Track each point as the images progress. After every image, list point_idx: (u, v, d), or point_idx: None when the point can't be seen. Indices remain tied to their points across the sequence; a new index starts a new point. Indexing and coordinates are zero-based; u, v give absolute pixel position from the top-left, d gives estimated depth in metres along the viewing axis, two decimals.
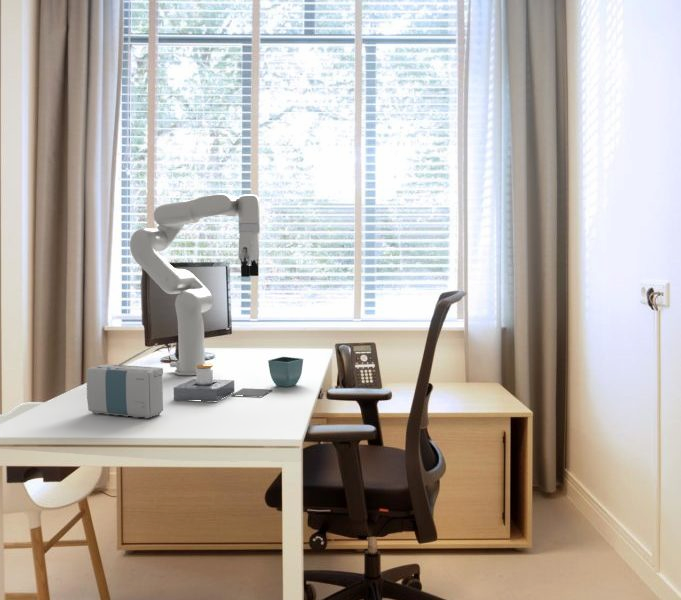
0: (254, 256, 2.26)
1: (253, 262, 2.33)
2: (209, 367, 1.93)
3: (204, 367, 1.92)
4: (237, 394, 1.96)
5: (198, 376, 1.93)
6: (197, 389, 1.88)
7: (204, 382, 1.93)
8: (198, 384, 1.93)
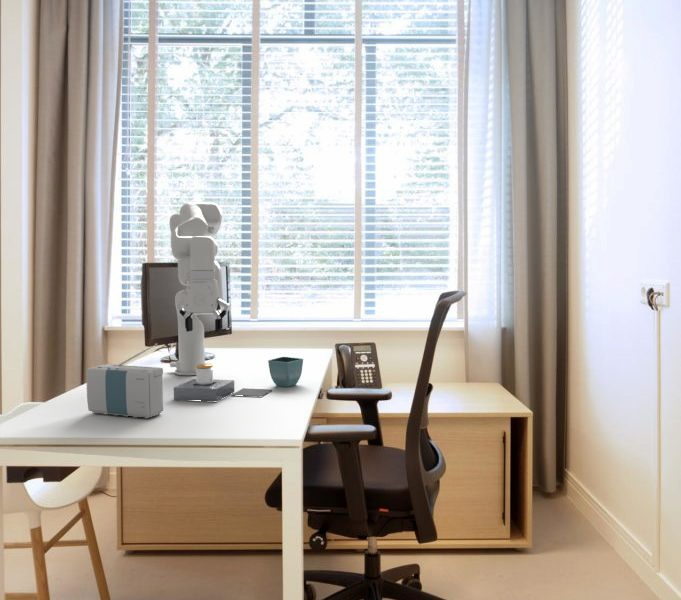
0: None
1: None
2: (209, 367, 1.93)
3: (204, 367, 1.92)
4: (237, 394, 1.96)
5: (198, 376, 1.93)
6: (197, 389, 1.88)
7: (204, 382, 1.93)
8: (198, 384, 1.93)
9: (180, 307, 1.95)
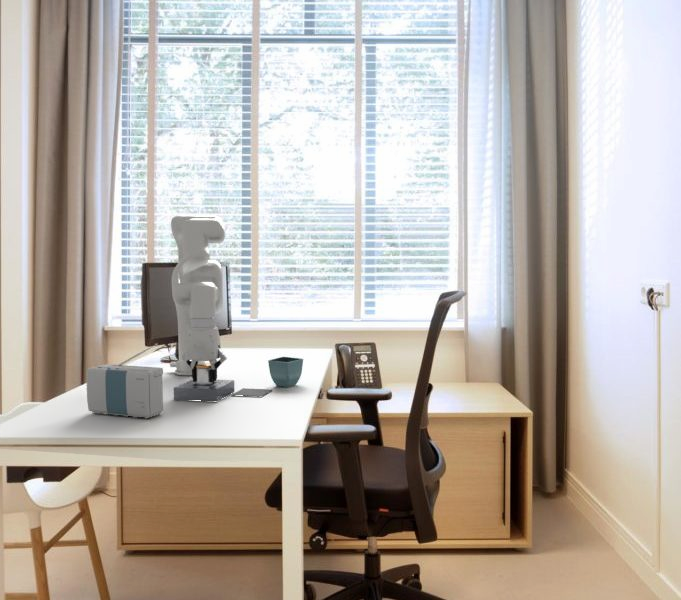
0: None
1: None
2: (209, 367, 1.93)
3: (204, 367, 1.92)
4: (237, 394, 1.96)
5: (198, 376, 1.93)
6: (197, 389, 1.88)
7: (204, 382, 1.93)
8: (198, 384, 1.93)
9: (185, 358, 1.95)
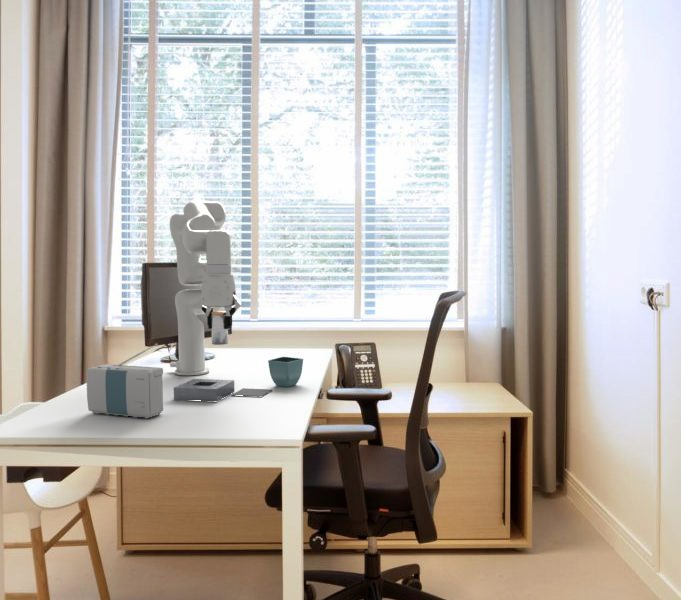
0: None
1: None
2: (224, 314, 1.93)
3: (219, 313, 1.93)
4: (237, 394, 1.96)
5: (213, 322, 1.93)
6: (197, 389, 1.88)
7: (219, 328, 1.93)
8: (213, 331, 1.93)
9: (201, 305, 1.96)
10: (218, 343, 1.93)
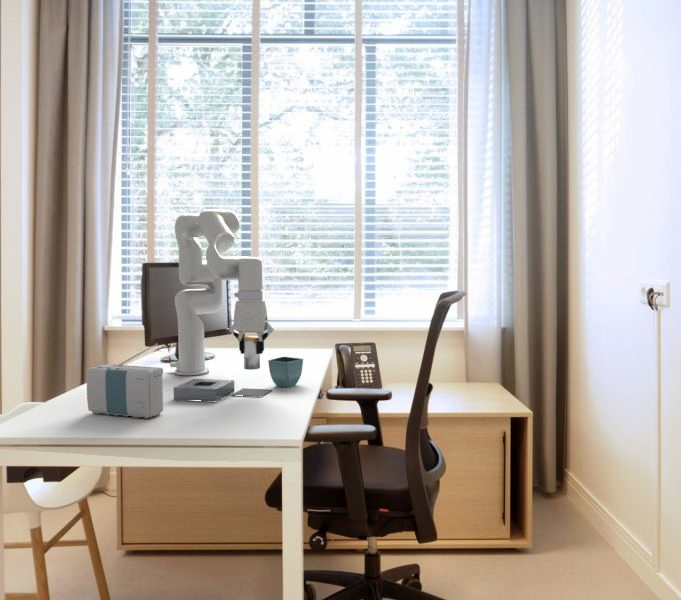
0: None
1: None
2: (256, 339, 1.97)
3: (252, 339, 1.96)
4: (237, 394, 1.96)
5: (246, 348, 1.96)
6: (197, 389, 1.88)
7: (251, 353, 1.96)
8: (246, 356, 1.97)
9: (233, 330, 1.99)
10: (251, 368, 1.96)
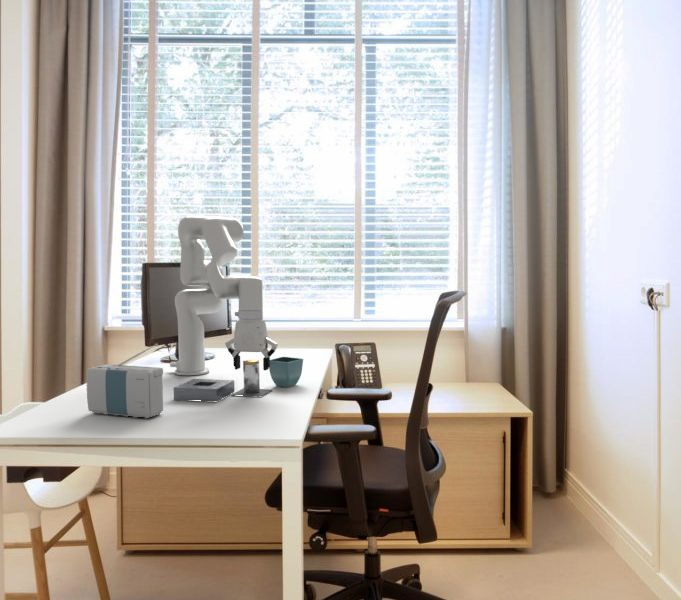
0: None
1: None
2: (256, 363, 1.97)
3: (251, 363, 1.97)
4: (237, 394, 1.96)
5: (245, 372, 1.97)
6: (197, 389, 1.88)
7: (251, 377, 1.97)
8: (245, 380, 1.97)
9: (228, 345, 1.99)
10: (251, 392, 1.97)
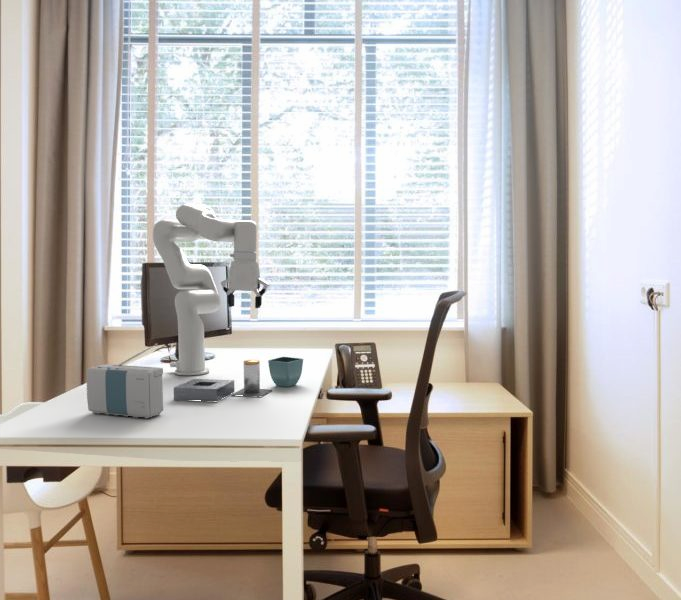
0: None
1: None
2: (257, 363, 1.97)
3: (252, 363, 1.96)
4: (237, 394, 1.96)
5: (246, 372, 1.97)
6: (197, 389, 1.88)
7: (251, 378, 1.97)
8: (246, 380, 1.97)
9: (224, 284, 2.14)
10: (251, 392, 1.97)
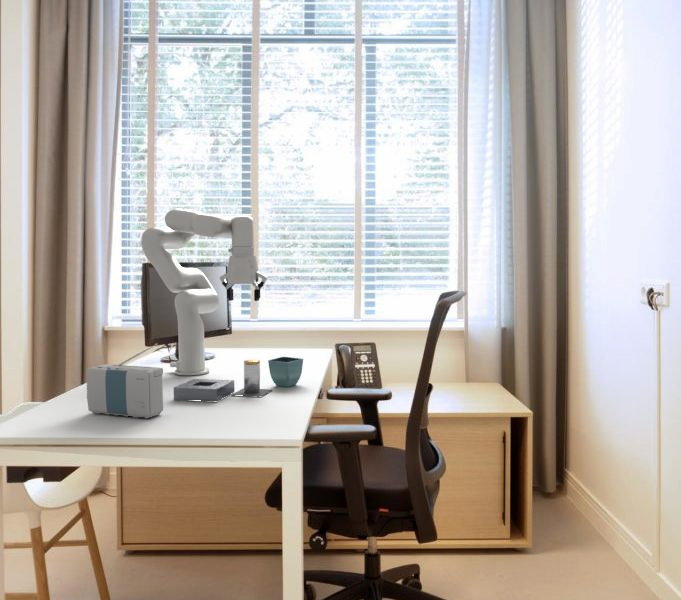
0: None
1: None
2: (257, 363, 1.97)
3: (252, 363, 1.97)
4: (237, 394, 1.96)
5: (246, 372, 1.97)
6: (197, 389, 1.88)
7: (252, 377, 1.97)
8: (246, 379, 1.97)
9: (222, 279, 2.20)
10: (251, 392, 1.97)
